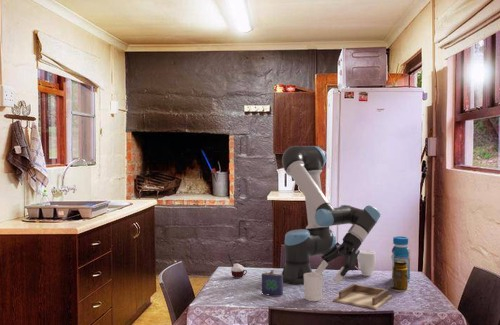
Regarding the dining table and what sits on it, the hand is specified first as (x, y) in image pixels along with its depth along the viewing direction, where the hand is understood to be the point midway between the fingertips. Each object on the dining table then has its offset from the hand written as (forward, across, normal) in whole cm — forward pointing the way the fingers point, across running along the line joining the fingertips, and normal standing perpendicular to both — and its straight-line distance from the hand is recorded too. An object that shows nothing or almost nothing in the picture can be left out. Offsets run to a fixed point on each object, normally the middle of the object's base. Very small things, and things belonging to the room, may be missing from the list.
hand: (326, 277), depth 187 cm
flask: (+18, +15, +6) cm, 24 cm away
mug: (-19, +24, -33) cm, 45 cm away
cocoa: (+20, +48, +8) cm, 52 cm away
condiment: (-19, -2, -33) cm, 38 cm away
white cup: (+10, +2, -3) cm, 10 cm away
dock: (-3, -7, -15) cm, 17 cm away
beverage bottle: (-27, +9, -41) cm, 49 cm away
